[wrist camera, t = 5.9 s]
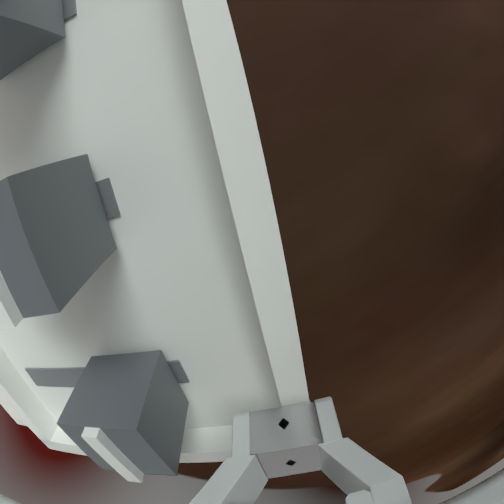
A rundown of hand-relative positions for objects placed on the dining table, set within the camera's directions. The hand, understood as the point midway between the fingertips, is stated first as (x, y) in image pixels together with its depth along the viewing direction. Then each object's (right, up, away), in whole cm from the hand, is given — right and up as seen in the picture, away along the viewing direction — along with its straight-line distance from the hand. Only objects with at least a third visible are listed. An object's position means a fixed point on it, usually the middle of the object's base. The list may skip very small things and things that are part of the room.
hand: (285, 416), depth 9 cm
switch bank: (-11, +6, +2) cm, 13 cm away
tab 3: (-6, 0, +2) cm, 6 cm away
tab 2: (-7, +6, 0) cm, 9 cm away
